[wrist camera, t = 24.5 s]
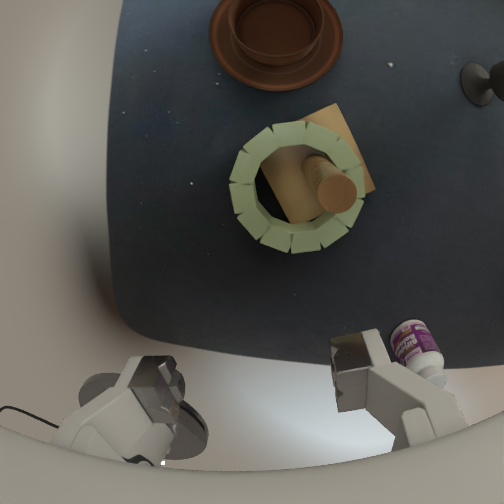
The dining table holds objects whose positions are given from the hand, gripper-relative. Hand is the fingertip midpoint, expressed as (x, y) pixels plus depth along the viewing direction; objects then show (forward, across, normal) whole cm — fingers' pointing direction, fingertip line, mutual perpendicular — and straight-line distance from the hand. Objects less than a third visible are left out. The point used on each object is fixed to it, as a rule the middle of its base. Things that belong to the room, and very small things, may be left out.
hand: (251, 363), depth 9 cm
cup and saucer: (+23, -4, -16) cm, 28 cm away
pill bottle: (+23, -15, +21) cm, 34 cm away
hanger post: (+23, -5, -2) cm, 23 cm away
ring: (+21, -3, -1) cm, 21 cm away
